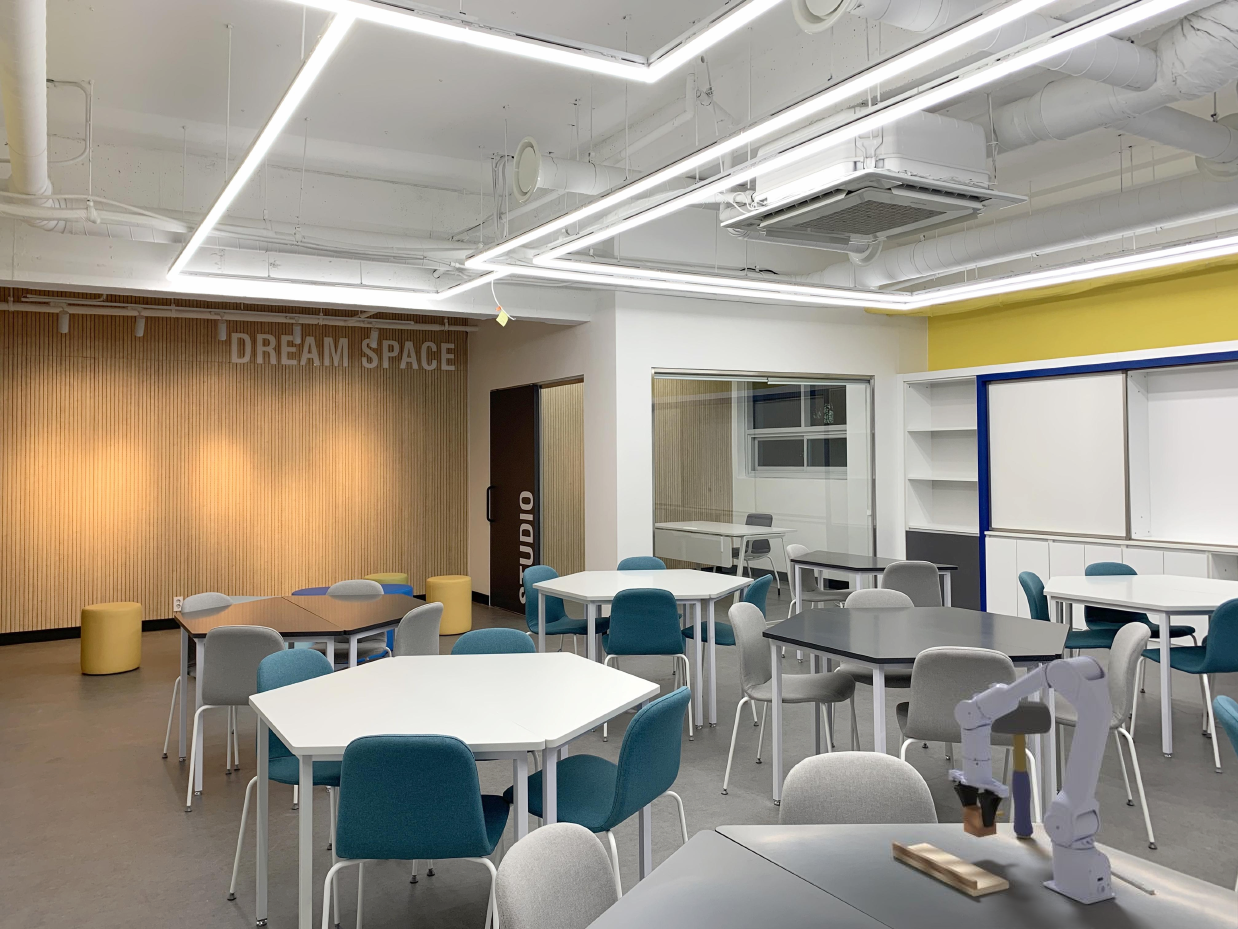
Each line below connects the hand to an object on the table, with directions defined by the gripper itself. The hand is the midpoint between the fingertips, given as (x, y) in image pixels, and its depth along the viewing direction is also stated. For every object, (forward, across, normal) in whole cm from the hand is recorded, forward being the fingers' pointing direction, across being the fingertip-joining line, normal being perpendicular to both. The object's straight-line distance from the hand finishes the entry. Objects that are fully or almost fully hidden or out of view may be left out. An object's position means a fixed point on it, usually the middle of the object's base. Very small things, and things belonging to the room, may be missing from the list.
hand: (979, 823), depth 179 cm
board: (+7, +3, -12) cm, 14 cm away
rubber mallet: (+7, -4, +17) cm, 19 cm away
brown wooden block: (+2, 0, +2) cm, 3 cm away
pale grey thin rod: (+8, +21, +16) cm, 27 cm away
